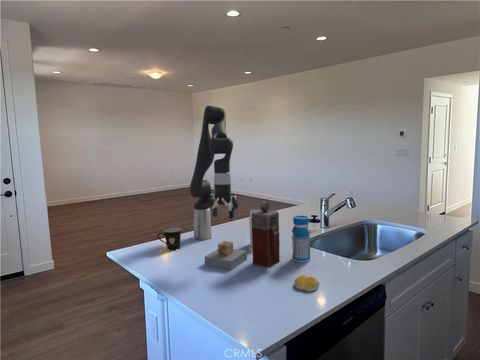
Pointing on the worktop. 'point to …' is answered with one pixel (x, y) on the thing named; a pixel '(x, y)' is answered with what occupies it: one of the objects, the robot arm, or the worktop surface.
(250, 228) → the milk carton
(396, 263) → the worktop surface
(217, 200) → the robot arm
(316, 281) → the bread roll
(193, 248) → the worktop surface
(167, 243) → the coffee mug
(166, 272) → the worktop surface
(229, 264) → the gray square block
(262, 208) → the red rectangular canister
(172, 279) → the worktop surface
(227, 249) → the walnut cube
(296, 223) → the beverage bottle
